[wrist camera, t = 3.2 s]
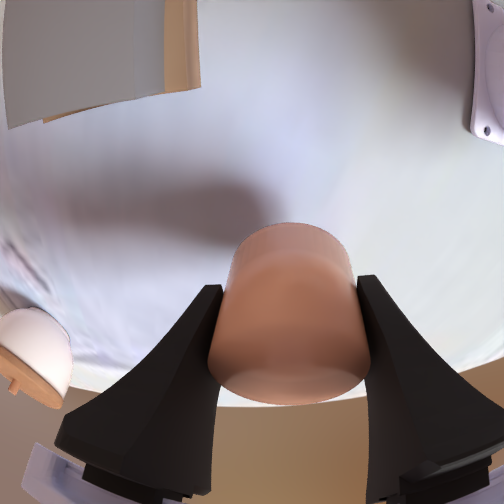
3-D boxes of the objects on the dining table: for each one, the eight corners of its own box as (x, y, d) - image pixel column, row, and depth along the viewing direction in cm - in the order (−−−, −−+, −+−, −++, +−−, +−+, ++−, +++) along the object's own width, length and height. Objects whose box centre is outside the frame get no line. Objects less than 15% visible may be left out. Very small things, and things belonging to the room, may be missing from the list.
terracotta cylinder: (360, 225, 10) (393, 323, 6) (339, 315, 13) (348, 404, 9) (226, 220, 10) (193, 316, 7) (235, 312, 13) (218, 399, 9)
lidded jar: (94, 367, 28) (66, 431, 21) (28, 333, 27) (-2, 388, 20) (78, 315, 22) (33, 398, 15) (4, 276, 21) (-43, 340, 14)
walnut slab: (199, -54, 7) (183, -73, 5) (204, 86, 11) (187, 90, 9) (65, -7, 8) (36, -10, 6) (72, 112, 12) (43, 123, 10)
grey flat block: (169, -55, 5) (143, -76, 3) (164, 91, 9) (135, 99, 7) (41, -6, 6) (7, -6, 4) (43, 114, 10) (8, 129, 8)
